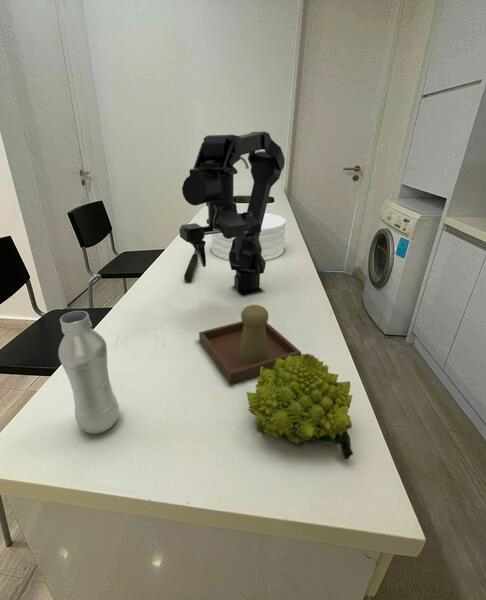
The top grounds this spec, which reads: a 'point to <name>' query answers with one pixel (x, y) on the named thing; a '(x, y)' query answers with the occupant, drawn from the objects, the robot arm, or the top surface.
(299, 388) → the vegetable
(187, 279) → the kitchen knife
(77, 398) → the plastic bottle
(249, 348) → the cork
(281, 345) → the tray
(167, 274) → the top surface
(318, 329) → the top surface
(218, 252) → the plate stack
